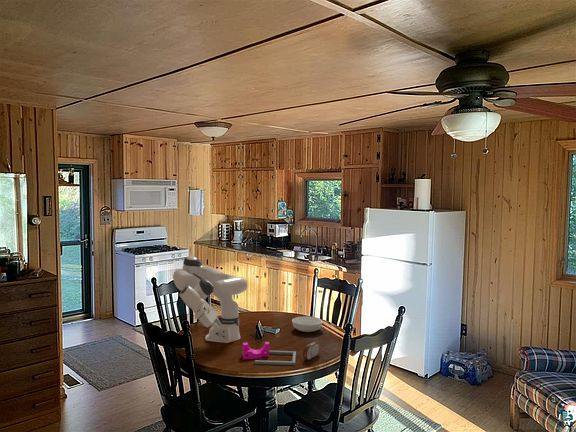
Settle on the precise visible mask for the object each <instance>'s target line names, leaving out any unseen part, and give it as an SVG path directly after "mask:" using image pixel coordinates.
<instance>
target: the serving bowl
mask: <svg viewBox="0 0 576 432" xmlns="http://www.w3.org/2000/svg"><path fill="white" fill-rule="evenodd" d="M291 322H292V326H293V327H294V329H296V330H297V331H298V332H299V331H300V332H304V333H312V332H316V331H318V330H320V328H322V326H323V325H322V324H323V320H322V319H320V318H318V317H314V316H297V317H295V318H292V319H291Z"/></svg>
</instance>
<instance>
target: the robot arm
mask: <svg viewBox="0 0 576 432" xmlns="http://www.w3.org/2000/svg"><path fill="white" fill-rule="evenodd" d="M172 279H173V283H174V285H175V287H176V288H177V290H179V291H180V292H179V297H180V299H182V301H183V304H185V306H186V307H187V308H188V309H191V310H192V312H193V313H194V317H195V319H196V320H198V321H199V322H200V323H201V324H202V325H203V326H204V327H206V328H209V327H210V328H209V332H208V334H206V335H205V339H204V340H205V341H206V342H215V343H225V344H229V343H231V342H236V341H238V340H240V339H241V335H240V334H241V333H240V327H239V325H240V317H239V303H238V302H237V301H235V300H234V299H233V296H235V295H239V294H241V293H244V292H245V291H246V290H247V288H248V283H247V280H246V279H245V278H244V277H240V276H235V275H232V274H227V273H224V272H222V271H220V270H218V269H216V268H214V267H212V266H209V265H203V262H202V261H201V260H200V259H199V258H198V257H196V256H193V255H188V256H186V257H184V259H183V263H182V268H178V269H176V270H175V271H174V272H173V274H172ZM212 294H213V295H214V297H216V298H217V300H218V301H219V305H220V314H219V312H218V311H217V310H216V309H215V308H214V307H213V306H211V305H210V304H209V303H208V302H207V301H206V299H207V298H208V296H210V295H212Z"/></svg>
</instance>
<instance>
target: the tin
mask: <svg viewBox="0 0 576 432" xmlns="http://www.w3.org/2000/svg"><path fill="white" fill-rule="evenodd" d="M319 352H320V343H319V342H318V341H315V340H314V341H311V342H310V343H308V344H306V345H305V346H304V348H303V351H302V357H303V359H304V360H306V361H307V360H309V361H310V360H311V359H313V358H315V357H317V356H318V354H319Z"/></svg>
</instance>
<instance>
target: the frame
mask: <svg viewBox="0 0 576 432" xmlns="http://www.w3.org/2000/svg"><path fill="white" fill-rule="evenodd" d="M266 352H267V351H266ZM269 355H285V356H286V355H288V356H289V355H290V356H291V355H292V361H288V360H286V361H285V360H261V359H259V360H257V359H255V360H254V364H255V365H277V366H278V365H279V366H296V357H297V351H295V350H294V351H292V350H291V351H290V350H289V351H288V350H269Z"/></svg>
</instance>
